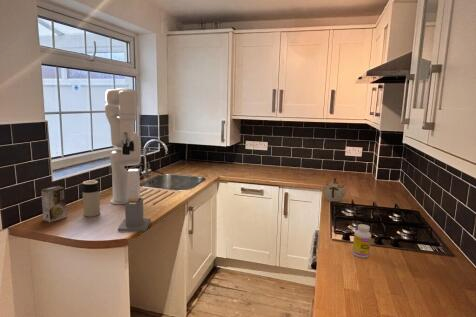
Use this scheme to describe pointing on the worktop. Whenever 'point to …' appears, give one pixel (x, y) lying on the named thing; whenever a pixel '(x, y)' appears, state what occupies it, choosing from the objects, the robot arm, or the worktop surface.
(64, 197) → the coffee box
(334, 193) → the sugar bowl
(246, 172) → the worktop surface
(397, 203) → the worktop surface
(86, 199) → the travel mug
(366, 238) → the supplement bottle
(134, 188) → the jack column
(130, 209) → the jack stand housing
